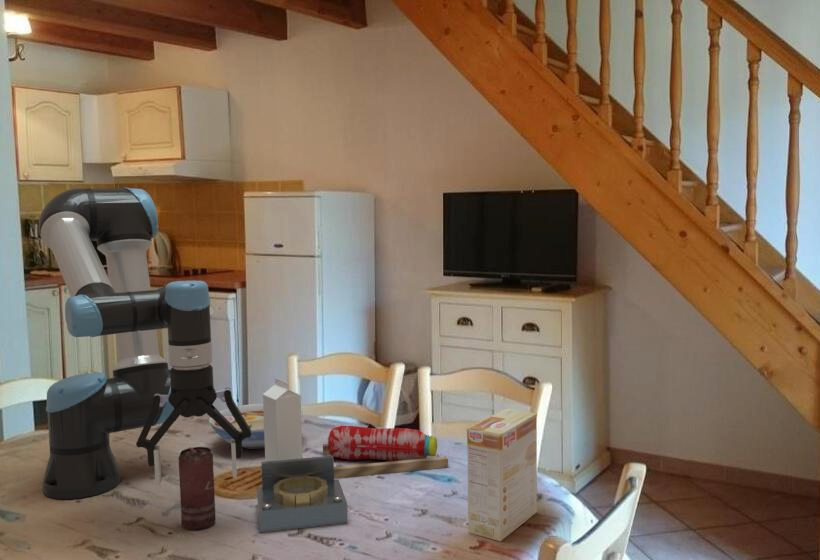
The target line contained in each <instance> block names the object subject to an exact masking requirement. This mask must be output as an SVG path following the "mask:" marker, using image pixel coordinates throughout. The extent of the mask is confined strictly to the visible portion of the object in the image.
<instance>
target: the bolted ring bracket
mask: <svg viewBox="0 0 820 560" xmlns="http://www.w3.org/2000/svg"><path fill="white" fill-rule="evenodd" d="M334 457H335V456H332V455H326V456H325V455H322V456H314V457H303V458H301V459H289V460H278V461H267V462H265V461H261V462H260V465H261V484H262V485H261V486H257V487H256V491H257V492H256V495H257V497H256V498H257V516H258V527H259V528H258V529H259V530H258V531H259V534H262V533H271V532H272V533H273V532H280V531H289V530H299V529H305V528H307V529H308V528H315V527H324V526H325V527H327V526H334V525H335V526H336V525H343V524H348V502H347V498H346V497H345V493H344V491H343V489H342V485H341V482H340V479H339V478H336V479H335V478H334V467H335V465H334V462H335V461H334Z"/></svg>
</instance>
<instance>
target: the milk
mask: <svg viewBox="0 0 820 560" xmlns="http://www.w3.org/2000/svg"><path fill="white" fill-rule="evenodd" d="M262 404H263V411H264V439H265V448H264V459H265V461H264V462H267V461H278V460H289V459H301V458H304V456H303V454H304V453H303V432H302V431H303V425H302V424H303V423H302V418H301V410H302V396H301V394H300V393H298V392H295V391H293V390H291V389H289V383H288V382H287V381H285V380H283V379H280V378H277V377H275V378H274V384H273V385H272V386H271V387H270V388H268V389H267V390H266V391H265V392H264V393H263V394H262Z"/></svg>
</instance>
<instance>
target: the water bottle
mask: <svg viewBox="0 0 820 560" xmlns="http://www.w3.org/2000/svg"><path fill="white" fill-rule="evenodd" d="M427 435H428V434H426V433H424V432H422V431H421V430H419V429H415V428H413V429H412V428H407V427H405V428H404V427H403V428H401V427H400V428H399V427H390V428H377V427H376V426H374V425H372V424H371V423H369V424H368V425H367V427H363V426H357V425H355V426H354V425H339V426H336V427H333V428H332V429H331V430H330V431H329V434H328V438H327V444H328V450H329V453H330V454H329V455H330V456H333V457H335V458H337V459H340V460H356V461H357V460H360V461H361V460H375V461H377V460H380V461H386V462H392V461H403V460H413V459H424V458H427V457H432V458H435V457H437V456H436V455H437V452H438V451H437V450H438V439H437V437H435V436H433V435H429V436H430V437H427Z"/></svg>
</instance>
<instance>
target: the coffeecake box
mask: <svg viewBox="0 0 820 560" xmlns="http://www.w3.org/2000/svg"><path fill="white" fill-rule="evenodd" d="M537 415H538V414H537V413H535V412H530V411H523V410H519V409H516V408H508V407H507V408H503V409H501V410H500V411H498V412H496V413H494V414H492V415H490V416H488V417H486V418H484V419H483V420H481V421H479V422H476V423H475V424H472V425H470V426H469V427H466V436H467V437H466V438H467V439H466V441H467V443H466V444H467V446H466V447H467V448H466V449H467V451H466V452H467V516H468V517H467V520H468V521H467V522H468V523H467V524H468V525H467V529H468V530H467V531H468V533H469V534H471V535H475V536H477V537H478V536H479V537H484V538H487V539H489V540H493V541H497V542H502V541H504V539H506V538H507V537H508V536H509V535H511V534H512V533H513V532H514V531H515V530H517V529H518V528H519V527H520V526H522V525H523V524H525V523H526V522H527V521H528V520H530V518H532V517H533V516H534V515H536V514H537V513H538V508H537V506H538V505H537V503H538V502H537V499H538V498H537V497H538V495H537V494H538V492H537V491H538V490H537V489H538V488H537V487H538V481H537V479H538V477H537V476H538V473H537V471H538V466H537V465H538V464H537V463H538V461H537V460H538V458H537V457H538V456H537V455H538V454H537V452H538V451H537V447H538V446H537V444H538V443H537V436H538V435H537V432H538V429H537V423H538V422H537V421H538V420H537V417H538V416H537Z"/></svg>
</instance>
